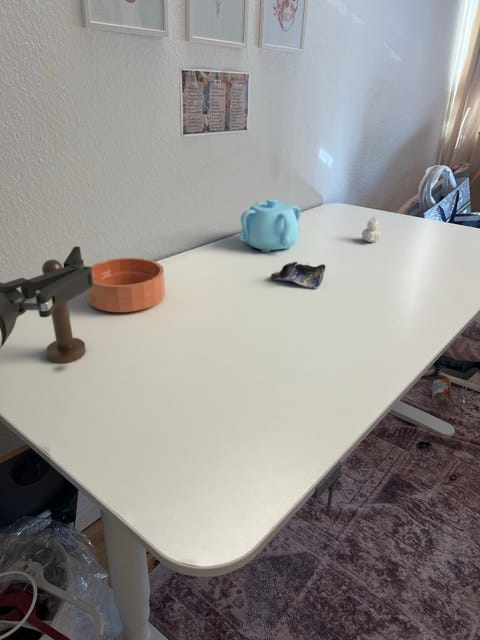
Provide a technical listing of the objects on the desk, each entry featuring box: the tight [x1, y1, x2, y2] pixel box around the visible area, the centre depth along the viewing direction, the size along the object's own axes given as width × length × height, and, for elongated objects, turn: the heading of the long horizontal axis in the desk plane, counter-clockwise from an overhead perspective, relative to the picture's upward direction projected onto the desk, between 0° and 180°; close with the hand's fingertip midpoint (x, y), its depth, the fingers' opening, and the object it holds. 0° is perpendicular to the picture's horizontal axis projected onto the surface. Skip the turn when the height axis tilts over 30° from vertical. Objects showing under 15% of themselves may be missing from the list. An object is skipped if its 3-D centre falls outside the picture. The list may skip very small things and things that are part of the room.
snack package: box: [270, 261, 326, 290], centre depth 116 cm, size 12×6×12 cm
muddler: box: [41, 259, 87, 364], centre depth 81 cm, size 6×6×18 cm
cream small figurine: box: [361, 215, 381, 243], centre depth 143 cm, size 5×7×8 cm
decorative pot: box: [238, 198, 301, 253], centre depth 137 cm, size 16×16×14 cm
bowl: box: [85, 257, 166, 313], centre depth 104 cm, size 17×17×6 cm
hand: (28, 256), depth 66 cm, fingers open, 13 cm apart
